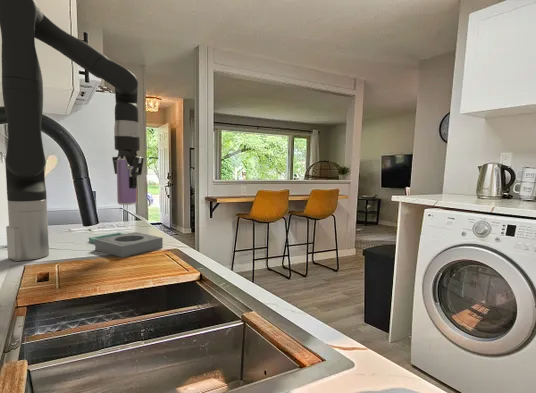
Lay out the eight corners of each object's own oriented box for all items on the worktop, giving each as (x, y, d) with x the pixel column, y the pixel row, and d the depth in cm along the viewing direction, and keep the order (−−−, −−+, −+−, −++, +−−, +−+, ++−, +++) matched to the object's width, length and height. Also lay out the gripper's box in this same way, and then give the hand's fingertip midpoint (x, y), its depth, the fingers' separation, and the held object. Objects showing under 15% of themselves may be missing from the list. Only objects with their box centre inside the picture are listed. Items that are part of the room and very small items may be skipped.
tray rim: (107, 246, 108) (107, 242, 108) (89, 241, 114) (88, 237, 114) (138, 240, 118) (138, 236, 118) (119, 236, 124) (119, 232, 124)
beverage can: (132, 205, 102) (131, 158, 100) (114, 204, 102) (113, 158, 101) (140, 203, 108) (139, 159, 106) (122, 202, 108) (122, 159, 107)
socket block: (122, 257, 96) (121, 246, 95) (95, 249, 104) (95, 239, 103) (162, 247, 108) (162, 237, 108) (135, 241, 116) (135, 232, 116)
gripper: (103, 135, 103) (104, 187, 105) (129, 133, 95) (130, 189, 97) (124, 137, 109) (125, 186, 111) (150, 136, 102) (151, 188, 103)
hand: (128, 187), depth 104 cm, fingers closed on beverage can, 4 cm apart
